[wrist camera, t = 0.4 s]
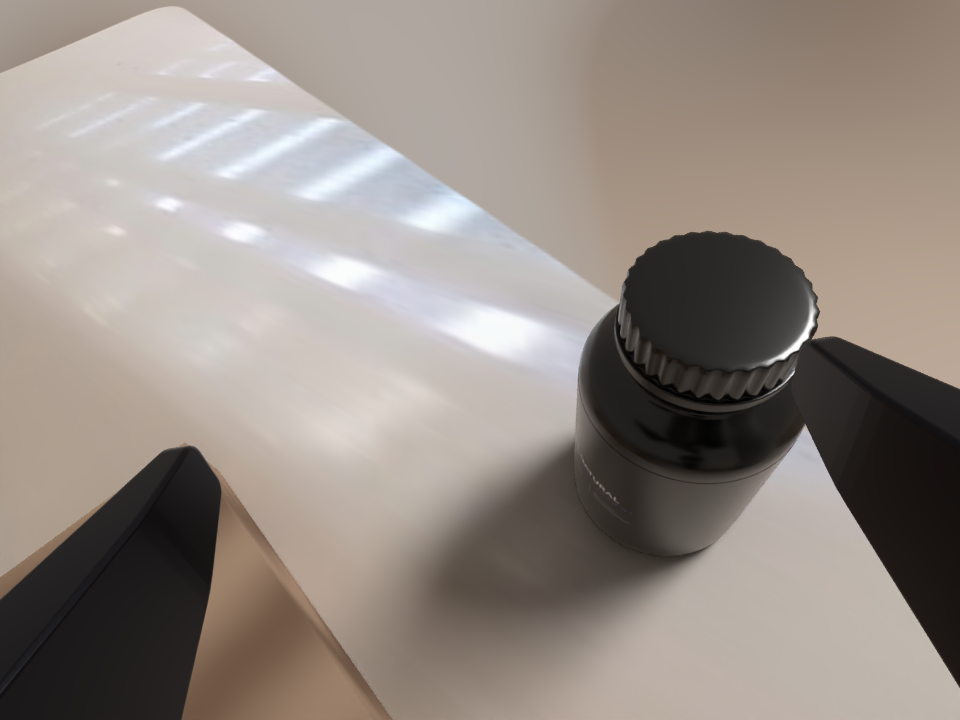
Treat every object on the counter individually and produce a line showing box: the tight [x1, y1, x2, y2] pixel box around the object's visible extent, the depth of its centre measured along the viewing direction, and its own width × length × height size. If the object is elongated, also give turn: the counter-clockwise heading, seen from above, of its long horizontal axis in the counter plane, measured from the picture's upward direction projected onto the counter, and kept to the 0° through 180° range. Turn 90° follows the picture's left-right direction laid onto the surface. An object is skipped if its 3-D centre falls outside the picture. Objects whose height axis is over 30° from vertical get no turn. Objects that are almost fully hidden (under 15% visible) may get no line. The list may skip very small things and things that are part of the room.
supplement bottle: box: [574, 231, 820, 556], centre depth 19 cm, size 7×7×12 cm
